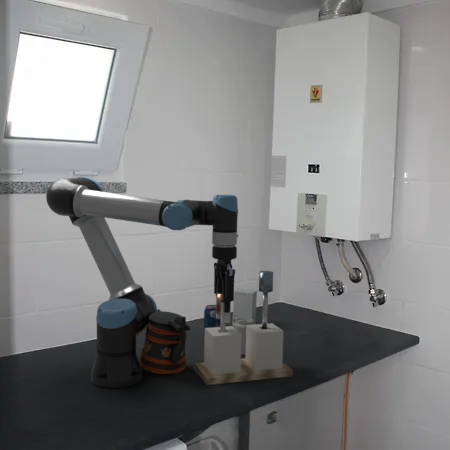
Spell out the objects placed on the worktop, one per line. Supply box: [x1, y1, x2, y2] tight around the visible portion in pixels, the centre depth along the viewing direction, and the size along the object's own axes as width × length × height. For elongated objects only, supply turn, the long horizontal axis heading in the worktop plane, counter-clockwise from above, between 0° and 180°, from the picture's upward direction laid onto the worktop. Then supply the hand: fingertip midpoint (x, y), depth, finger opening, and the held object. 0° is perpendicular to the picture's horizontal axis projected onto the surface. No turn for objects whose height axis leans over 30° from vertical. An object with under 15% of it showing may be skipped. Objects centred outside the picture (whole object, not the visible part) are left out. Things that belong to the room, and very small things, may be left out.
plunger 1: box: [215, 292, 227, 333], centre depth 182 cm, size 4×4×19 cm
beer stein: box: [139, 308, 191, 376], centre depth 185 cm, size 19×15×20 cm
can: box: [234, 318, 256, 357], centre depth 205 cm, size 8×8×12 cm
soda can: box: [203, 304, 220, 337], centre depth 222 cm, size 7×7×12 cm
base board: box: [193, 358, 294, 386], centre depth 186 cm, size 28×14×2 cm, turn 109°
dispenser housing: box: [203, 322, 284, 375], centre depth 186 cm, size 23×9×12 cm, turn 109°
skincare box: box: [231, 287, 258, 328], centre depth 236 cm, size 8×7×16 cm
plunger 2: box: [258, 270, 274, 329], centre depth 186 cm, size 4×4×19 cm
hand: (223, 320), depth 182 cm, fingers closed on plunger 1, 4 cm apart
